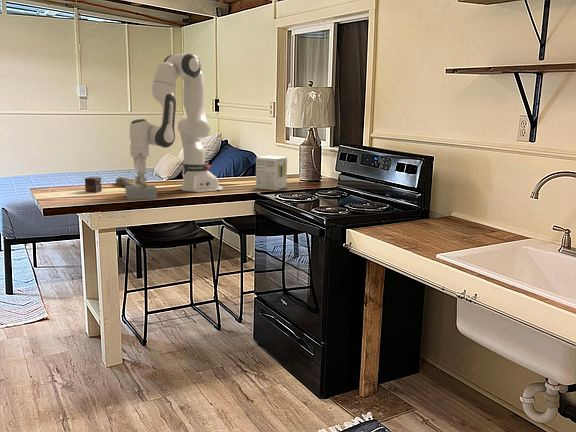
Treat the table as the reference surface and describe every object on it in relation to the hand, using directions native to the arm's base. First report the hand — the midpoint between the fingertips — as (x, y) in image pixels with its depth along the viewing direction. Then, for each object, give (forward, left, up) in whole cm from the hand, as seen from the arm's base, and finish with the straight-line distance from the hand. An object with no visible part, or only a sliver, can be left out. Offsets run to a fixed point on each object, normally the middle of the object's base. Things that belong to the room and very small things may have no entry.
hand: (140, 180), depth 279 cm
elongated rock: (+1, -32, -9) cm, 34 cm away
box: (+22, -22, -9) cm, 32 cm away
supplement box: (-73, -12, -9) cm, 75 cm away
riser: (0, 0, -8) cm, 8 cm away
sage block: (0, 0, -3) cm, 3 cm away
